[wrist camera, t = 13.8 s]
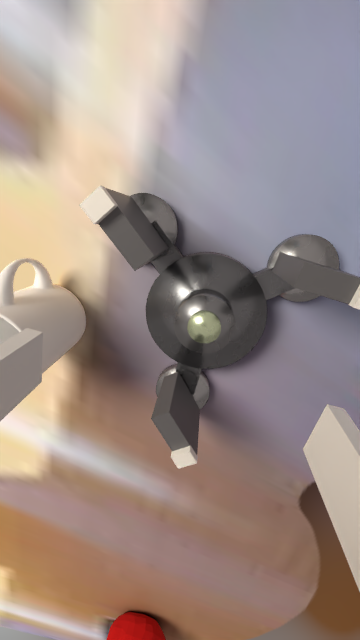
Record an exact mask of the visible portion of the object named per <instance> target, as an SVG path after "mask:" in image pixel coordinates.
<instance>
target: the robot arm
mask: <svg viewBox="0 0 360 640" xmlns="http://www.w3.org/2000/svg"><path fill="white" fill-rule="evenodd" d="M42 347H43V332H40V331H36V330H32V329H28V328H26V329H24V330H23V331H21V332H19V333H18V334H16V335H14V336H12V337H11V338H9V339H7V340H6V341H4V342H2V343H0V421H1V420H2V419H3V418H4V417H5V416H6V415H7V414H8V413H9V412H10V411H11V410H13V409H14V408H15V407H16V406H17V405H18V404H19V403H20V402H21V401H22V400H23V399H24V398H25V397H26V396H27V395H28V394H29V393H30V392H31V391H32V390H33V389H35V388H36V387H37V386H38V385H39V384H40V383H41V381H42ZM303 451H304V454H305V456H306V459H307V461H308V464H309V466H310V469H311V471H312V474H313V476H314V479H315V481H316V483H317V486H318V489H319V491H320V494H321V496H322V499H323V501H324V503H325V506H326V509H327V511H328V514H329V516H330V519H331V521H332V524H333V526H334V528H335V531H336V534H337V536H338V539H339V541H340V543H341V546H342V548H343V551H344V554H345V556H346V559H347V561H348V564H349V566H350V568H351V571H352V574H353V576H354V579H355V581H356V583H357V586H358V589H359V591H360V431H359V429H358V428H357V426H356V425H355V424H354V422H353V421H352V419H351V418H350V416H349V415H348V414H347V412H346V411H345V409H343V408H339V407H336V406H332V405H328V404H327V405H326V407H325V409H324V411H323V413H322V415H321V416H320V418H319V420H318V422H317V424H316V426H315V428H314V429H313V431H312V433H311V435H310V437H309V439H308V441H307V442H306V444H305V446H304V448H303Z"/></svg>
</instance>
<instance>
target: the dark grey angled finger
mask: <svg viewBox="0 0 360 640" xmlns="http://www.w3.org/2000/svg"><path fill="white" fill-rule="evenodd" d="M199 414H200V408H199V407H198V405H197V403H196V402H195V400H194V398H193V396H192V395H191V393H190V391H189V389H188V388H187V386H186V384H185V382H184V381H183V379H182V377H181V376H180V374H179V372H175V373H173V374H170V375H168V376H165V377H164V379H163V382H162V385H161V388H160V392H159V395H158V398H157V401H156V405H155V408H154V411H153V414H152V418H151V419H152V421H153V422H154V424H155V425H156V427H157V428H158V430H159V432H160V433H161V435H162V436H163V438H164V439H165V441H166V442H167V444H168V445H169V447H170V449H171V450H172V454H171V458H172V460H173V461H174V463H175V464H176V466H177V467H178V469H179V468H182V467H185V466H189V465H192V464H195V463H197V448H198V431H199Z"/></svg>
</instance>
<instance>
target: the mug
mask: <svg viewBox="0 0 360 640" xmlns="http://www.w3.org/2000/svg"><path fill="white" fill-rule="evenodd" d="M25 262H27V263H31V264H32V265H33V266H34V268H35V272H36V277H35V282H34V285H33V286H30V287H27V288H24V289H21V290H18V291H15V292H13V280H14V275H15V272H16V270H17V268H18V267H19V266H20V265H21V264H22V263H25ZM26 328H28V329H32V330H36V331H40V332H43V347H42V373H43V372H45V371H46V370H47V369H48V368H49V367H50V366H51V365H53V364H54V363H55V362H56V361H57V360H58V359H59V358H60V357H62V356H63V355H64V354H65V353H66V352H67V351H68V350H70V349H71V348H72V347H73V346H74V345H75V344H76V343H77V342H78V341H79V340H80V339H81V337H82V335H83V334H84V331H85V328H86V315H85V311H84V308H83V306H82V304H81V303H80V301H79V300H78V298H77V297H76V296H75V295H74V294H73V293H72V292H70V291H69V290H67V289H66V288H64V287H62V286H59V285H56V284H52V280H51V277H50V275H49V272H48V271H47V269H46V268H45V267H44V265H42V264H41V263H40V262H39V261H37V260H34V259H30V258H23V259H18V260H15V261H13V262H11V263H10V264H9V265H7V266H6V267H5V268H4V270H3V271H2V272H1V273H0V343H2V342H4V341H6V340H7V339H9V338H11V337H12V336H14V335H16V334H18V333H19V332H21V331H23V330H24V329H26Z"/></svg>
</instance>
